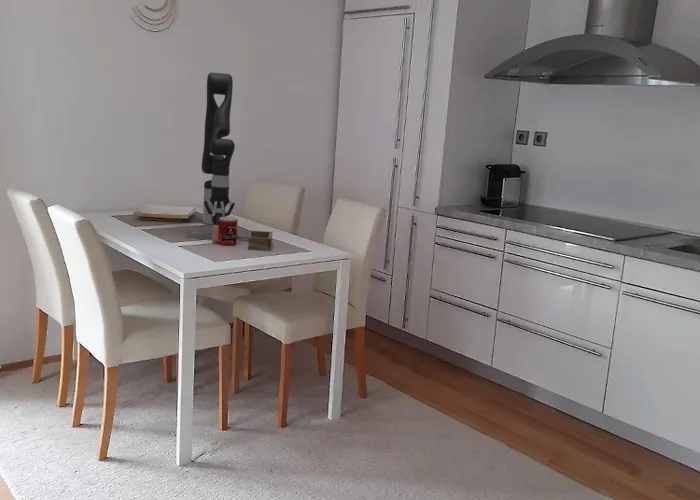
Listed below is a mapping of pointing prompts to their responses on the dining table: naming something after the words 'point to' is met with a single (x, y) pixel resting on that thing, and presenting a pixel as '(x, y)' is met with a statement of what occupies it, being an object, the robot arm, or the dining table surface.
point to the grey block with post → (216, 227)
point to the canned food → (227, 230)
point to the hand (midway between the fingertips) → (218, 224)
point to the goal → (260, 240)
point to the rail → (208, 235)
